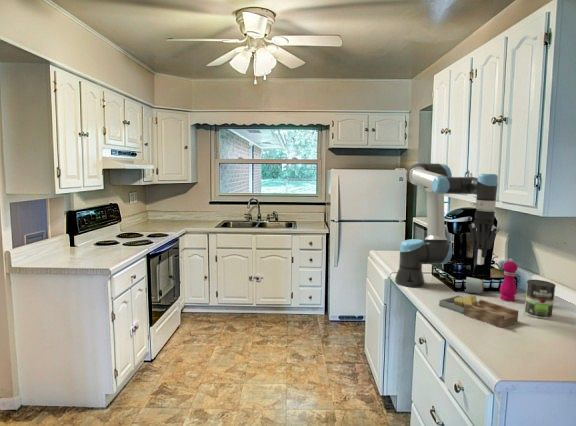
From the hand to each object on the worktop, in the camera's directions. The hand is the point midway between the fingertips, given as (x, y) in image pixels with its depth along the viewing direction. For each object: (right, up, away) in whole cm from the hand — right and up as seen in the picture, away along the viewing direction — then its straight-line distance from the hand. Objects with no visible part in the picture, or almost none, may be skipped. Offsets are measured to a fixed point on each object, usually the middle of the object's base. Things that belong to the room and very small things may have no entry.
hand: (480, 264), depth 175 cm
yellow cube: (-4, -18, 0) cm, 19 cm away
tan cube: (-6, -18, +2) cm, 19 cm away
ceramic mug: (+10, -18, +29) cm, 36 cm away
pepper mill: (+22, -19, +19) cm, 35 cm away
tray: (-6, -20, +6) cm, 22 cm away
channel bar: (+1, -22, -7) cm, 23 cm away
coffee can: (+24, -22, -1) cm, 33 cm away
